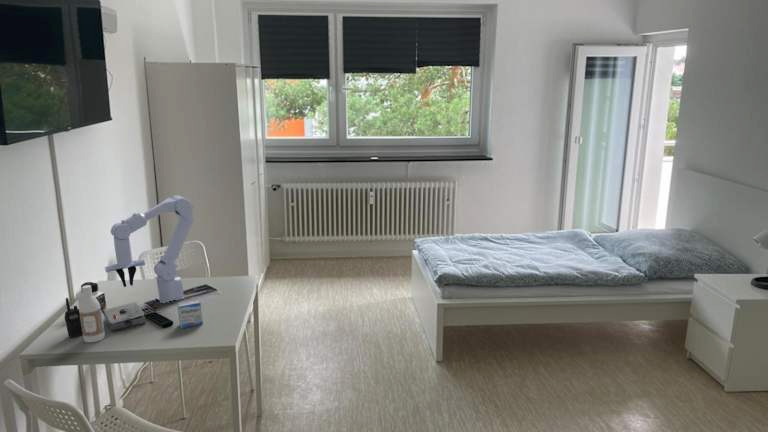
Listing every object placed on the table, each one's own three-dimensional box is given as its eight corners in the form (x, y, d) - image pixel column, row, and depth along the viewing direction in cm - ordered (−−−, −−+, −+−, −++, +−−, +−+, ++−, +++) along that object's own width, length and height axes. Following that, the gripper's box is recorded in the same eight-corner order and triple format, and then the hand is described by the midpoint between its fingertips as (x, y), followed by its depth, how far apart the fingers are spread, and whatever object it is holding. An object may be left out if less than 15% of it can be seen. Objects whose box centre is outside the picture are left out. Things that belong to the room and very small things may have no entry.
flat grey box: (135, 310, 237) (134, 303, 236) (147, 326, 222) (146, 318, 221) (103, 318, 231) (102, 311, 230) (112, 334, 215) (111, 327, 215)
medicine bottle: (95, 315, 234) (90, 286, 231) (79, 314, 235) (74, 285, 233) (107, 308, 241) (102, 280, 238) (91, 307, 242) (87, 279, 239)
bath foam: (81, 344, 208) (72, 290, 204) (86, 336, 215) (78, 284, 210) (102, 341, 210) (94, 288, 205) (107, 333, 217) (99, 282, 212)
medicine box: (181, 328, 219) (178, 306, 217) (179, 324, 223) (176, 303, 221) (203, 324, 222) (200, 302, 220) (201, 320, 226) (198, 298, 224)
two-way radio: (68, 339, 213) (62, 300, 209) (66, 335, 216) (60, 296, 213) (85, 334, 216) (79, 296, 213) (83, 330, 220) (77, 292, 216)
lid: (135, 303, 234) (135, 299, 234) (144, 315, 223) (143, 310, 222) (102, 312, 228) (101, 308, 227) (109, 325, 216) (108, 320, 216)
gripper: (105, 259, 227) (110, 292, 230) (145, 251, 235) (149, 284, 238) (102, 254, 232) (107, 287, 236) (141, 248, 240) (145, 279, 243)
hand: (128, 285), depth 237 cm, fingers closed
